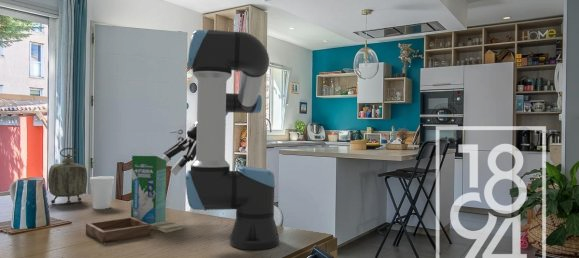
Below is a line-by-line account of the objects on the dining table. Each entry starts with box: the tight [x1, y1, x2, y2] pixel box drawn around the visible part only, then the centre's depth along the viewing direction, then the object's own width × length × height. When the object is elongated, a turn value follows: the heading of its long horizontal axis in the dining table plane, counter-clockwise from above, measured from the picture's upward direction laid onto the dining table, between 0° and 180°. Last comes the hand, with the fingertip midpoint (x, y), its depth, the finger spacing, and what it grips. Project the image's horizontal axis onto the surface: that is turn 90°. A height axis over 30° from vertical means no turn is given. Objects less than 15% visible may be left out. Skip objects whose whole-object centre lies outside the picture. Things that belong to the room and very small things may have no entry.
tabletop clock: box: [47, 147, 88, 205], centre depth 181 cm, size 14×9×25 cm, turn 130°
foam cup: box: [89, 175, 115, 210], centre depth 173 cm, size 10×9×13 cm
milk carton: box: [130, 154, 167, 224], centre depth 147 cm, size 9×9×25 cm
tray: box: [85, 216, 152, 245], centre depth 130 cm, size 15×15×3 cm
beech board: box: [150, 220, 184, 233], centre depth 140 cm, size 10×7×1 cm
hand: (164, 171), depth 152 cm, fingers open, 13 cm apart
